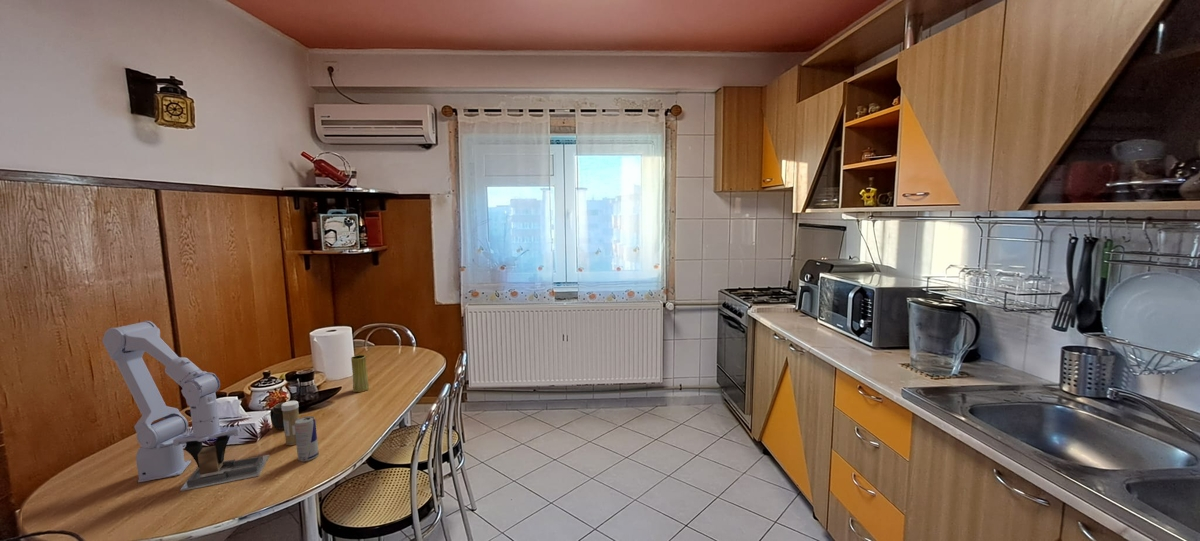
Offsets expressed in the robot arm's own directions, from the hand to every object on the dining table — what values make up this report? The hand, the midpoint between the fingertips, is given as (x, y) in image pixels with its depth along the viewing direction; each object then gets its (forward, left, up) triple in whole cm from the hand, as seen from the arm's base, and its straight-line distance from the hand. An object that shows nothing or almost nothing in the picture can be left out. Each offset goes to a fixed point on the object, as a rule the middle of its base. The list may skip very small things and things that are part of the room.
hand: (211, 463), depth 133 cm
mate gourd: (+12, +28, -4) cm, 31 cm away
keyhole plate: (+4, 0, -4) cm, 6 cm away
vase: (+34, +55, -4) cm, 65 cm away
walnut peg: (0, 0, -2) cm, 2 cm away
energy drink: (+23, 0, -4) cm, 24 cm away
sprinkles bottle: (+17, +13, -4) cm, 22 cm away
